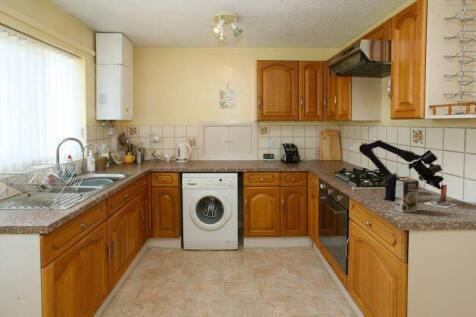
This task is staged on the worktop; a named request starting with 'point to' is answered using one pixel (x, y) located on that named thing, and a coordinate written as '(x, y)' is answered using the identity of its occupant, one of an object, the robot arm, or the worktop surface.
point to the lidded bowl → (408, 178)
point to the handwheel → (442, 197)
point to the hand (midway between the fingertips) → (440, 188)
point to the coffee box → (406, 195)
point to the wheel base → (440, 205)
